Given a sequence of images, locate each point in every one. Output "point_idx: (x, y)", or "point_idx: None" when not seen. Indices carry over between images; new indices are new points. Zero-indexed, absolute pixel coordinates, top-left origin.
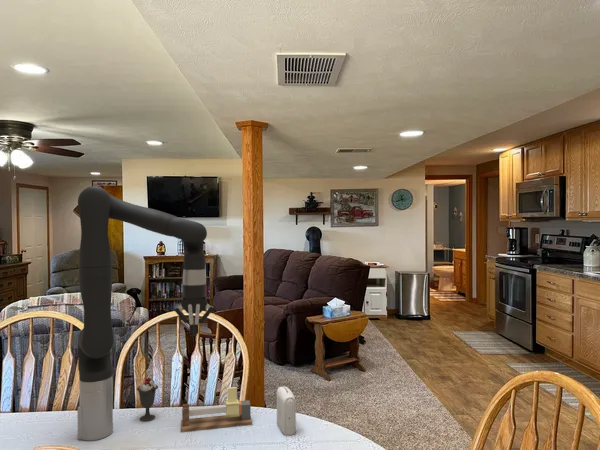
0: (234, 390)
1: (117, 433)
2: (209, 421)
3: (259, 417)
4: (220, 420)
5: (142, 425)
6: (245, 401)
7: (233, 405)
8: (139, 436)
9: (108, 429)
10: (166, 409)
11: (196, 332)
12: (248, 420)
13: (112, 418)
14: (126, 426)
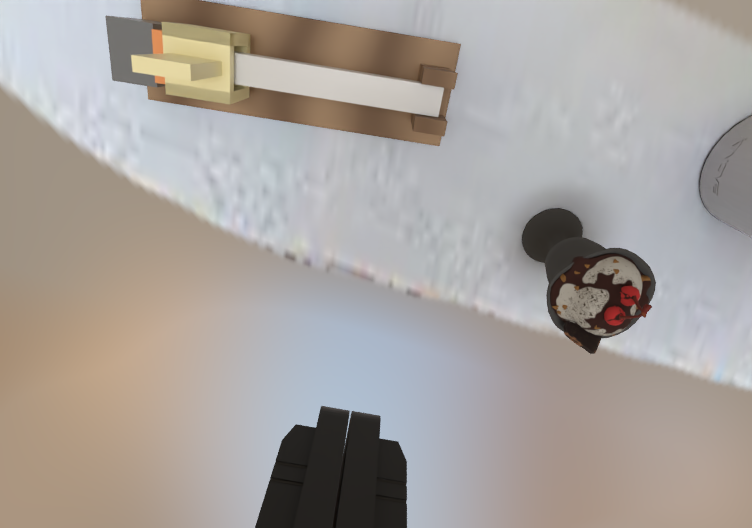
0: (154, 57)
1: (690, 141)
2: None
3: None
4: None
5: (584, 178)
6: (132, 71)
7: (194, 27)
8: (621, 75)
9: (748, 133)
10: (469, 287)
11: (307, 444)
12: (156, 11)
13: (743, 173)
14: (641, 193)
